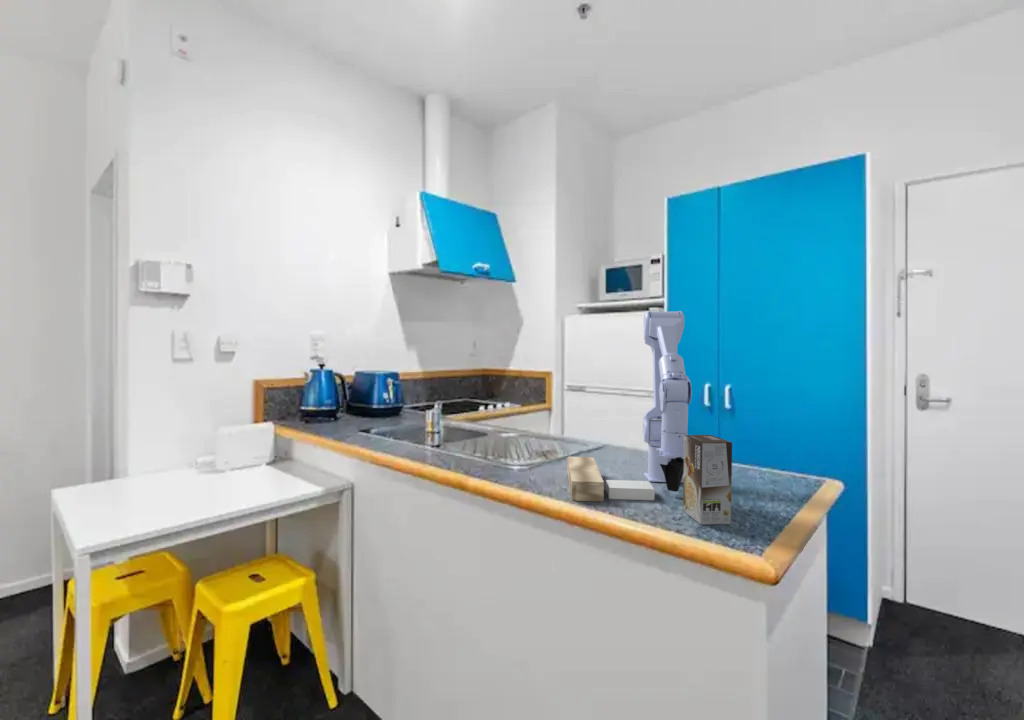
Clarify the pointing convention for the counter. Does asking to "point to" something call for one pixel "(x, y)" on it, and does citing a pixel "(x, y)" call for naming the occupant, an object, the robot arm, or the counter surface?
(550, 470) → the counter surface
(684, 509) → the coffee box
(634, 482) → the white flat block
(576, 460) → the wooden block
